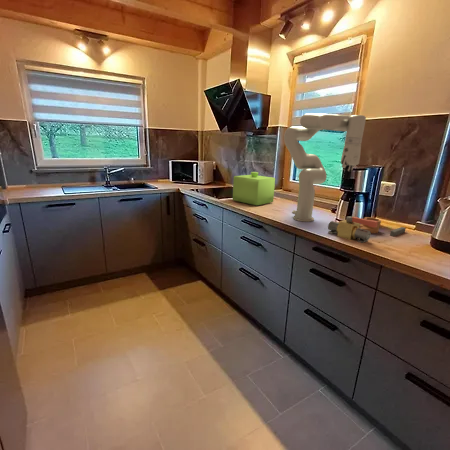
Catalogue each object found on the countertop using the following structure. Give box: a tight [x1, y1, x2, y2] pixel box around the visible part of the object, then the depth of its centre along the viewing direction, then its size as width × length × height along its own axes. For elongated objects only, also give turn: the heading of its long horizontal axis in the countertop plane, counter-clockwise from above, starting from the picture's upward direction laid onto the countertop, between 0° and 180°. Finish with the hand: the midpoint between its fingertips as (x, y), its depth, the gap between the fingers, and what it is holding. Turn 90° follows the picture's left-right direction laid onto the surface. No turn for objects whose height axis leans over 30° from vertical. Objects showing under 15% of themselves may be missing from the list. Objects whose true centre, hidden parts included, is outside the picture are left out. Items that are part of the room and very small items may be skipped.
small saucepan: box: [359, 216, 382, 234], centre depth 150 cm, size 18×8×7 cm, turn 102°
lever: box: [345, 216, 378, 228], centre depth 133 cm, size 14×4×3 cm, turn 39°
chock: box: [389, 226, 407, 237], centre depth 148 cm, size 2×14×2 cm, turn 127°
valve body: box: [327, 219, 372, 244], centre depth 139 cm, size 20×7×8 cm, turn 37°
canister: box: [232, 171, 276, 206], centre depth 218 cm, size 25×21×23 cm
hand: (346, 178), depth 142 cm, fingers closed
